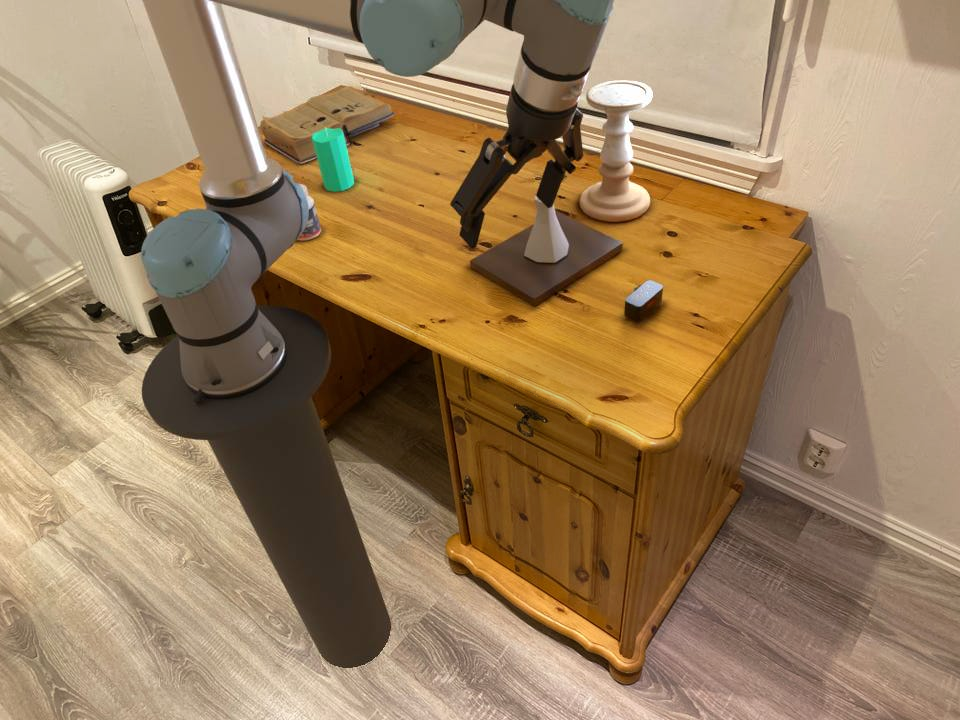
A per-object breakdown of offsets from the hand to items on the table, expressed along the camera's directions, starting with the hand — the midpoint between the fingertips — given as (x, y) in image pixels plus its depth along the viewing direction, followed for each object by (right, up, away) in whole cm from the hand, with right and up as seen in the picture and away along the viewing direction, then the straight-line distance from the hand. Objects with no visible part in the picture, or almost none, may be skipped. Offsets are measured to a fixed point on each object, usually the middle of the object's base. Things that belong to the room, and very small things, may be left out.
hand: (507, 220), depth 96 cm
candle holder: (+20, +9, +31) cm, 38 cm away
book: (-37, +32, +63) cm, 80 cm away
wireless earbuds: (+20, -11, +10) cm, 25 cm away
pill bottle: (-35, +4, +33) cm, 48 cm away
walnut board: (+7, -2, +21) cm, 22 cm away
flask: (+7, -1, +20) cm, 21 cm away
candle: (-32, +16, +46) cm, 58 cm away
